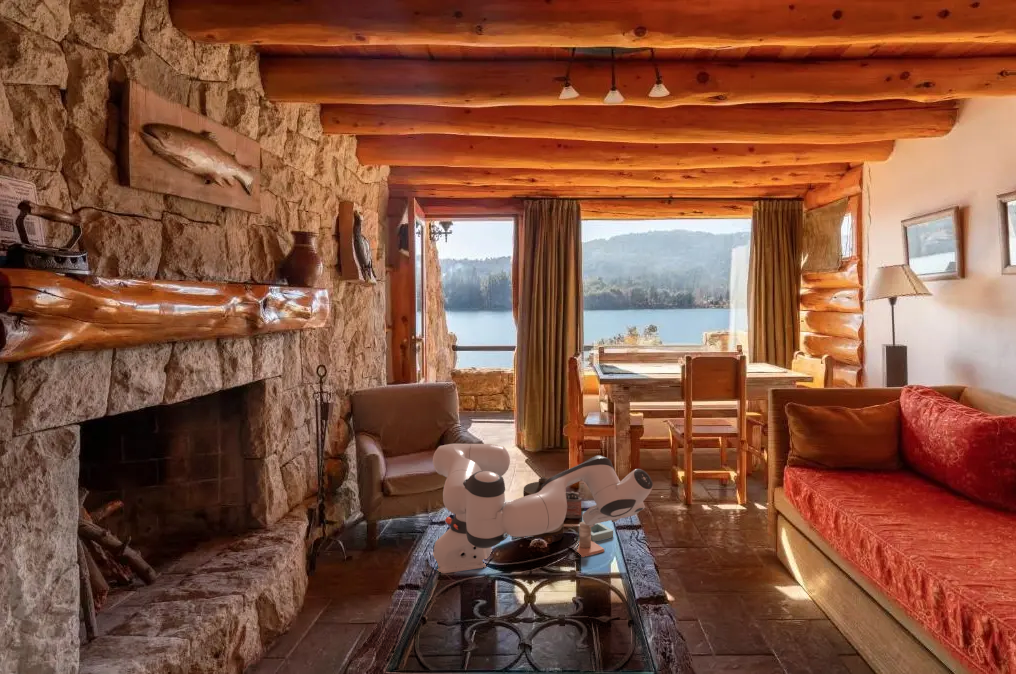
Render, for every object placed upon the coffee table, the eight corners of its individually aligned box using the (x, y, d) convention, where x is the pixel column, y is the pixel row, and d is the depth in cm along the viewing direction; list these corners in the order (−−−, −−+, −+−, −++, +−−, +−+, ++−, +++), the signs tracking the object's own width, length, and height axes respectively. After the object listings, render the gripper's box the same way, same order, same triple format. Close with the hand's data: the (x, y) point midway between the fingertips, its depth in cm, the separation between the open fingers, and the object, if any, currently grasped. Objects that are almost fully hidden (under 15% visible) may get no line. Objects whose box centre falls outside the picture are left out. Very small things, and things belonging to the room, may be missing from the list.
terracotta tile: (582, 557, 206) (582, 554, 206) (568, 547, 214) (568, 544, 213) (604, 551, 210) (604, 548, 210) (589, 541, 218) (589, 539, 218)
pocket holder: (592, 542, 217) (593, 535, 217) (578, 533, 225) (578, 526, 225) (613, 537, 222) (613, 530, 221) (598, 528, 229) (598, 521, 229)
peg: (583, 549, 209) (583, 526, 209) (577, 545, 213) (577, 522, 212) (593, 547, 211) (593, 524, 210) (586, 542, 215) (586, 520, 214)
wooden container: (537, 548, 213) (537, 487, 211) (515, 533, 226) (515, 475, 223) (571, 538, 220) (572, 479, 218) (548, 524, 233) (548, 468, 231)
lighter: (581, 515, 242) (581, 490, 241) (581, 518, 239) (581, 493, 238) (561, 514, 243) (561, 490, 242) (561, 517, 240) (561, 493, 239)
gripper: (597, 517, 188) (579, 536, 197) (649, 506, 197) (629, 525, 206) (589, 499, 191) (572, 518, 201) (640, 489, 201) (621, 508, 210)
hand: (601, 522), depth 204 cm, fingers open, 8 cm apart
